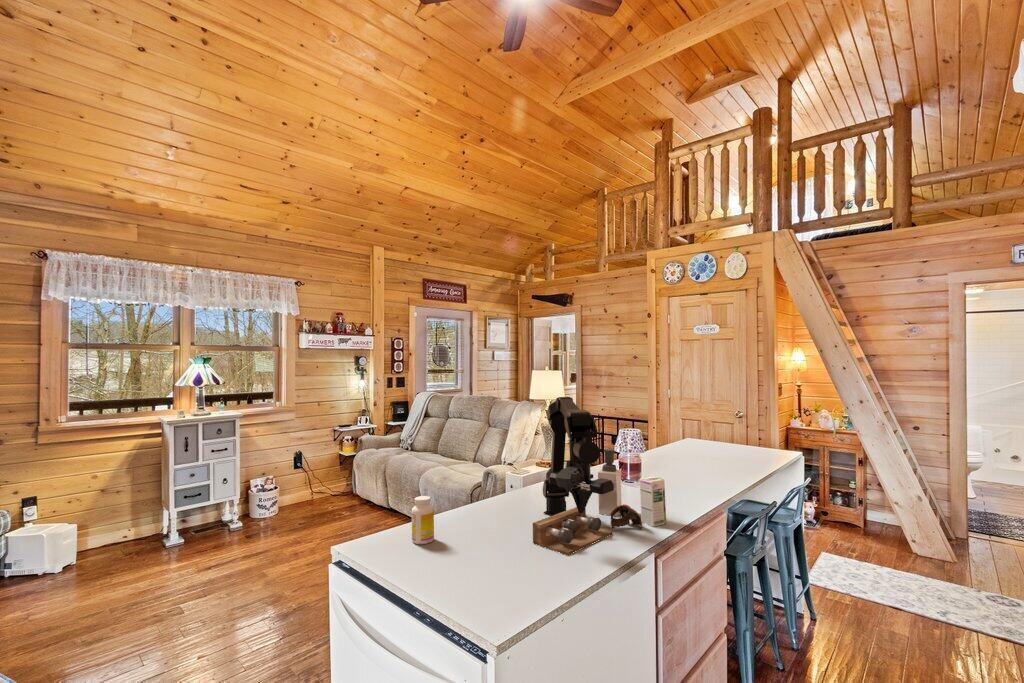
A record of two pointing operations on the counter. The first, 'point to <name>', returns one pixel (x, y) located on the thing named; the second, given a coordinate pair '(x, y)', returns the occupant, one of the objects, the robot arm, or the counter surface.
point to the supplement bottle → (422, 521)
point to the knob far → (590, 522)
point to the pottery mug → (625, 516)
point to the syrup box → (653, 501)
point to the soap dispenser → (609, 472)
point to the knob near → (561, 534)
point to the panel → (552, 542)
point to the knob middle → (570, 525)
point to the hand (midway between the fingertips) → (581, 512)
